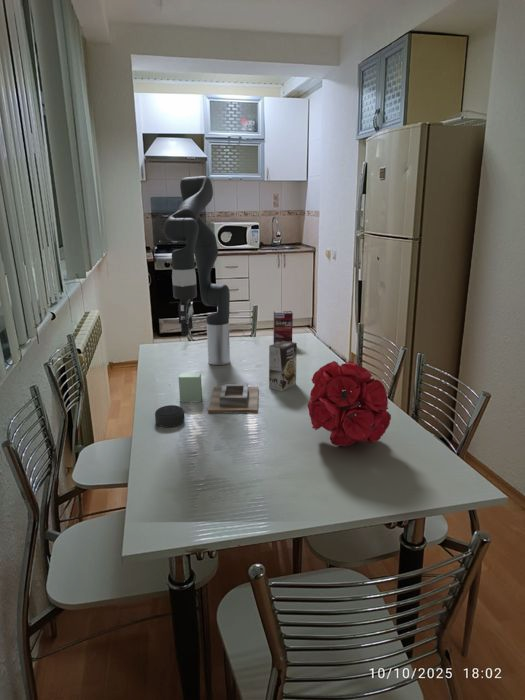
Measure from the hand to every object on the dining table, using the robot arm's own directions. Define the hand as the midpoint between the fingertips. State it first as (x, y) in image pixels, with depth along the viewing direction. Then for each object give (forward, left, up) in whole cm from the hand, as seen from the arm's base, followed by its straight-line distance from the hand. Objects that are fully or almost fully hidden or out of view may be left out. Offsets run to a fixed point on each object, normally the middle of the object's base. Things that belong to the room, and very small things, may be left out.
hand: (187, 331), depth 156 cm
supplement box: (-65, +34, -24) cm, 77 cm away
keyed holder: (+1, +15, -24) cm, 28 cm away
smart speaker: (+17, -4, -24) cm, 30 cm away
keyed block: (0, 0, -24) cm, 24 cm away
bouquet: (+28, +48, -24) cm, 61 cm away
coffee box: (-12, +32, -24) cm, 42 cm away
